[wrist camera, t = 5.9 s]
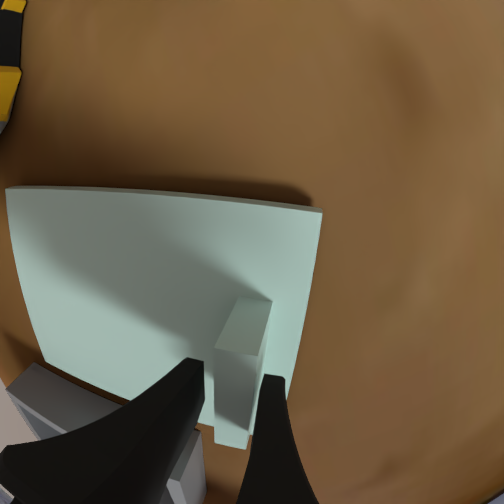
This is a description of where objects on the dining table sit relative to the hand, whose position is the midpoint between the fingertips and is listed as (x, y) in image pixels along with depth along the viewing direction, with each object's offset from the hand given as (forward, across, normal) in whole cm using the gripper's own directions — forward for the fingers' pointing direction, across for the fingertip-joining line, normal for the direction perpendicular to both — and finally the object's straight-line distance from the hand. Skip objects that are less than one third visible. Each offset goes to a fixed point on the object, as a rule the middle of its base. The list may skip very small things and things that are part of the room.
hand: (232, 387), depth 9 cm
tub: (+3, +10, +14) cm, 17 cm away
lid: (+4, +6, 0) cm, 7 cm away
